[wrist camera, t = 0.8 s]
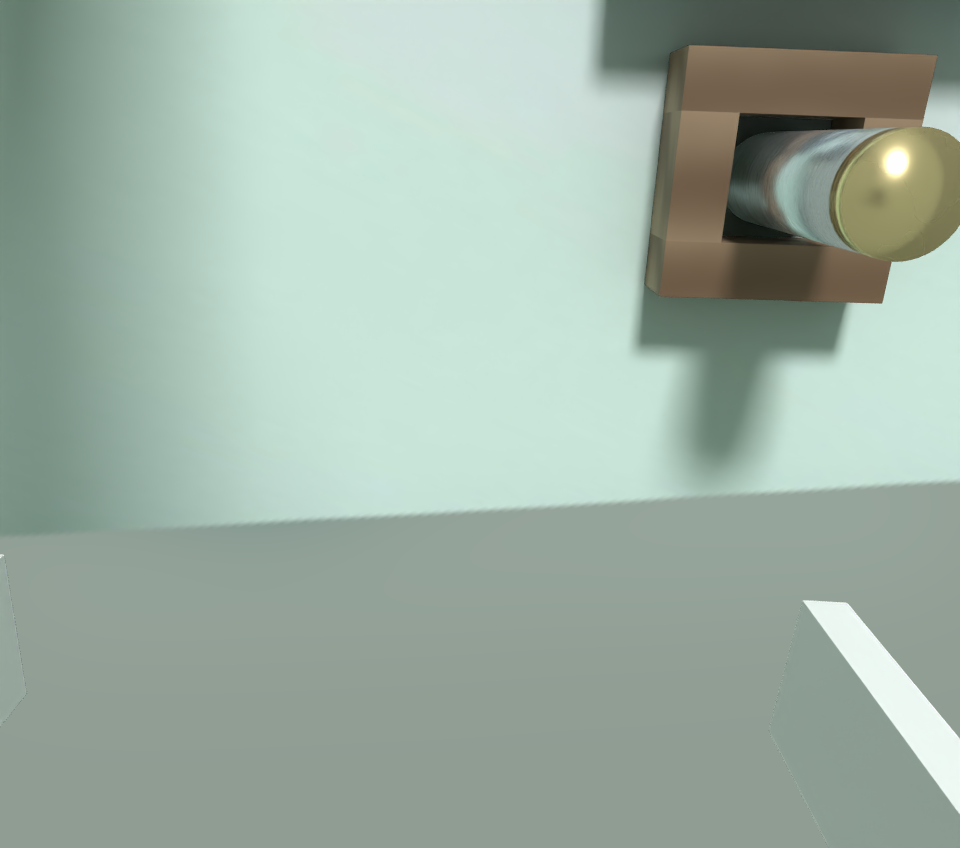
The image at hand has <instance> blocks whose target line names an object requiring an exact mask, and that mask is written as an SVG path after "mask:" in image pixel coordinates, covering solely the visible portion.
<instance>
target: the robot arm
mask: <svg viewBox="0 0 960 848" xmlns="http://www.w3.org/2000/svg"><path fill="white" fill-rule="evenodd" d="M26 694H27V691H26V685H25V679H24V673H23V667H22V661H21V654H20V648H19V642H18V636H17V630H16V624H15V618H14V611H13V605H12V599H11V593H10V587H9V580H8V575H7V568H6V562H5V556H4V555H1V554H0V726H1V725H2V724H3V723H4V721H5V720H6V719H7V718H8V716H9V715H10V714H11V713H12V711H13V710H14V709H15V708H16V706H17V705H18V704H19V703H20V702H21V700H22V699H23V698H24V697H25V695H26ZM769 733H770V735H771V737H772V738H773V740H774V742H775V744H776V746H777V748H778V750H779V752H780V754H781V756H782V758H783V760H784V762H785V764H786V766H787V768H788V770H789V771H790V773H791V776H792V777H793V779H794V781H795V783H796V785H797V787H798V789H799V791H800V793H801V795H802V797H803V799H804V801H805V803H806V805H807V807H808V809H809V811H810V812H811V815H812V817H813V818H814V820H815V822H816V824H817V826H818V828H819V830H820V832H821V834H822V836H823V838H824V840H825V842H826V844H827V846H828V848H960V739H959V737H958V736H957V735H956V734H955V733H954V731H953V730H952V729H951V728H950V726H949V725H948V724H947V723H946V722H945V720H944V719H943V718H942V717H941V716H940V714H939V713H938V712H937V711H936V710H935V709H934V707H933V706H932V705H931V704H930V702H929V701H928V700H927V699H926V697H925V696H924V695H923V694H922V693H921V691H920V690H919V689H918V688H917V687H916V685H915V684H914V683H913V682H912V681H911V679H910V678H909V677H908V676H907V675H906V673H905V672H904V671H903V670H902V669H901V667H900V666H899V665H898V664H897V662H896V661H895V660H894V659H893V658H892V657H891V655H890V654H889V653H888V652H887V650H886V649H885V648H884V647H883V646H882V645H881V643H880V642H879V641H878V640H877V638H876V637H875V636H874V635H873V634H872V632H871V631H870V630H869V629H868V628H867V626H866V625H865V624H864V623H863V622H862V620H861V619H860V618H859V617H858V616H857V614H856V613H855V612H854V611H853V609H852V608H851V607H850V606H849V605H848V603H841V602H823V601H805V600H803V601H802V604H801V608H800V612H799V616H798V620H797V624H796V627H795V631H794V635H793V639H792V643H791V647H790V650H789V655H788V658H787V662H786V666H785V670H784V674H783V678H782V681H781V685H780V689H779V693H778V697H777V701H776V705H775V708H774V712H773V717H772V720H771V724H770V728H769Z"/></svg>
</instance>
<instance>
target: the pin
mask: <svg viewBox="0 0 960 848" xmlns="http://www.w3.org/2000/svg"><path fill="white" fill-rule="evenodd" d="M727 206H728V208H729V209H730V210H731V211H732V212H733V214H735V215H736V216H737V217H739V218H740V219H742V220H744V221H747V222H750V223H754V224H757V225H761V226H764V227H768V228H771V229H775V230H778V231H782V232H785V233H789V234H792V235H796V236H799V237H803V238H806V239H810V240H813V241H817V242H820V243H824V244H827V245H831V246H834V247H838V248H841V249H845V250H848V251H852V252H855V253H859V254H862V255H866V256H869V257H873V258H876V259H880V260H884V261H892V262H899V261H907V260H912V259H915V258H919V257H921V256H923V255H926V254H928V253H930V252H931V251H933V250H935V249H936V248H938V247H939V246H940V245H942V244H943V243H944V242H945V241H946V240H947V239H949V238H950V236H951V235H952V234H953V233H954V232H955V231H956V229H957V228H958V227H959V225H960V142H959V141H958V140H956V139H955V138H954V137H953V136H951V135H950V134H948V133H946V132H944V131H942V130H939V129H935V128H930V127H902V128H872V129H842V130H813V131H783V132H764V133H759V134H756V135H754V136H751V137H749V138H748V139H746V140H744V141H743V142H742V143H741V144H739V145H738V146H737V147H736V148H735V150H734V157H733V164H732V171H731V178H730V185H729V192H728V199H727Z"/></svg>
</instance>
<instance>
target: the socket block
mask: <svg viewBox="0 0 960 848" xmlns="http://www.w3.org/2000/svg"><path fill="white" fill-rule="evenodd" d="M937 56H938V55H923V54H899V53H874V52H850V51H825V50H801V49H777V48H752V47H728V46H703V45H688V46H686V47H683V48H681V49H679V50H677V51H674V52H672V53H670V60H669V69H668V78H667V87H666V96H665V105H664V114H663V123H662V132H661V141H660V150H659V159H658V168H657V177H656V186H655V195H654V204H653V213H652V222H651V231H650V240H649V249H648V258H647V267H646V276H645V285H646V286H647V287H648V288H650V289H651V290H652V291H653V292H655V293H656V294H657V295H658V296H664V297H695V298H726V299H757V300H788V301H819V302H850V303H882V302H883V298H884V293H885V289H886V284H887V280H888V275H889V271H890V266H891V262H892V261H884V260H880V259H876V258H873V257H869V256H866V255H862V254H859V253H855V252H852V251H848V250H845V249H841V248H838V247H834V246H831V245H827V244H824V243H820V242H817V241H813V240H810V239H806V238H779V237H750V236H722V234H723V227H724V220H725V213H726V206H727V199H728V192H729V185H730V178H731V171H732V164H733V157H734V150H735V143H736V136H737V129H738V122H739V116H751V117H777V118H803V119H829V120H832V125H831V130H842V129H872V128H902V127H922V123H923V119H924V114H925V110H926V105H927V101H928V96H929V92H930V87H931V83H932V78H933V74H934V69H935V65H936V60H937Z"/></svg>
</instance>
